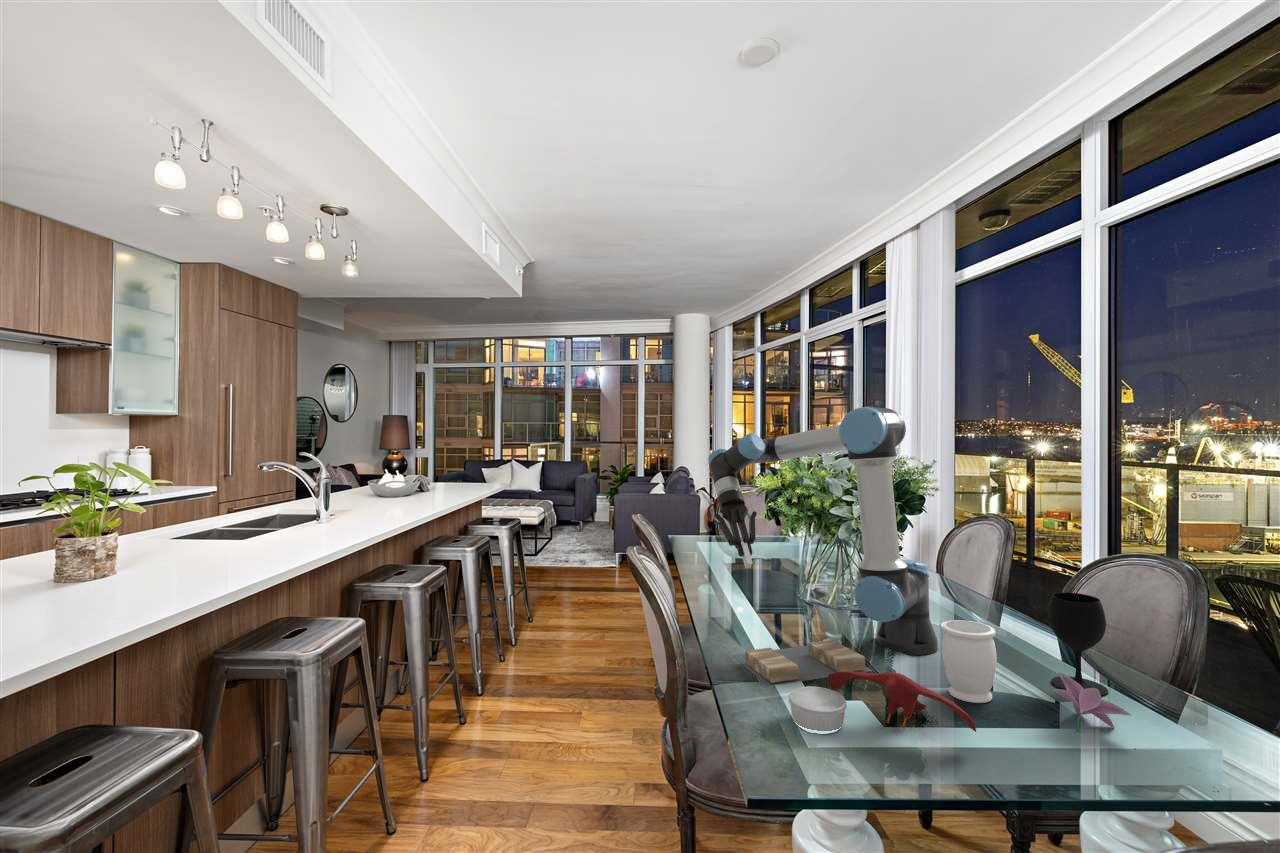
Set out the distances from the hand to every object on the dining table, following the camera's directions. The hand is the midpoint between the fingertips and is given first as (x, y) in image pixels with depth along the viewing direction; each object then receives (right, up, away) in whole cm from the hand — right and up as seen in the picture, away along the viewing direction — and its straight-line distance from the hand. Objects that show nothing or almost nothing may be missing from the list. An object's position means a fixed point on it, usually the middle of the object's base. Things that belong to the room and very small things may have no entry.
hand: (749, 565), depth 165 cm
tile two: (0, -19, -15) cm, 24 cm away
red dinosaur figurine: (+22, -20, -47) cm, 56 cm away
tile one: (+17, -19, -10) cm, 27 cm away
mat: (+10, -21, -17) cm, 28 cm away
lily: (+57, -20, -50) cm, 78 cm away
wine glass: (+68, -20, -33) cm, 78 cm away
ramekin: (+5, -21, -47) cm, 51 cm away
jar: (+42, -20, -36) cm, 59 cm away
